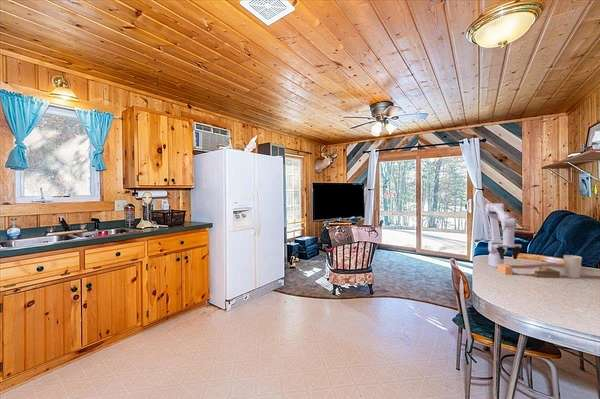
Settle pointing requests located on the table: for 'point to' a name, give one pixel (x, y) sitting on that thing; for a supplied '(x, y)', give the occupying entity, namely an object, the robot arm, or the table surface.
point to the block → (505, 269)
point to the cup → (572, 266)
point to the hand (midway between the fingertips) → (508, 258)
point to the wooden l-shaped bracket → (546, 272)
